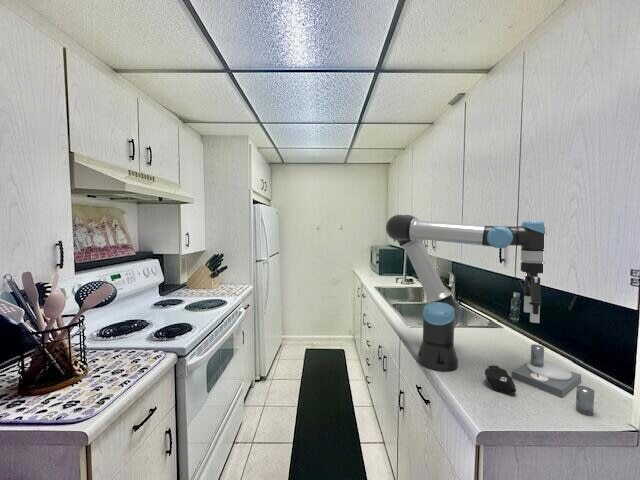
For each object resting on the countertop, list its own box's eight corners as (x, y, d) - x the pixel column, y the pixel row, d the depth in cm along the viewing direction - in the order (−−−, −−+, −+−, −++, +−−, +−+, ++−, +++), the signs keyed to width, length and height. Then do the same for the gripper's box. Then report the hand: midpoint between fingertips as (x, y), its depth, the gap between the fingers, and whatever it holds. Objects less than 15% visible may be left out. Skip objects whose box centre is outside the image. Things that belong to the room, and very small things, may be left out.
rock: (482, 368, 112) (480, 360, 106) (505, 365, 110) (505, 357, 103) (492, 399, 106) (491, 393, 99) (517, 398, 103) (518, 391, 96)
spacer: (540, 368, 110) (541, 349, 109) (528, 364, 113) (529, 346, 113) (545, 365, 112) (546, 347, 111) (533, 361, 115) (533, 343, 115)
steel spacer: (590, 417, 87) (592, 394, 87) (573, 410, 91) (574, 388, 90) (595, 412, 90) (596, 390, 89) (578, 406, 93) (579, 384, 93)
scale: (561, 397, 97) (562, 387, 97) (511, 377, 110) (511, 368, 109) (581, 381, 107) (581, 372, 107) (533, 365, 120) (533, 356, 119)
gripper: (553, 266, 100) (551, 328, 101) (538, 258, 123) (536, 309, 124) (526, 265, 104) (524, 325, 105) (516, 258, 126) (514, 307, 127)
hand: (531, 317), depth 114 cm, fingers open, 13 cm apart
